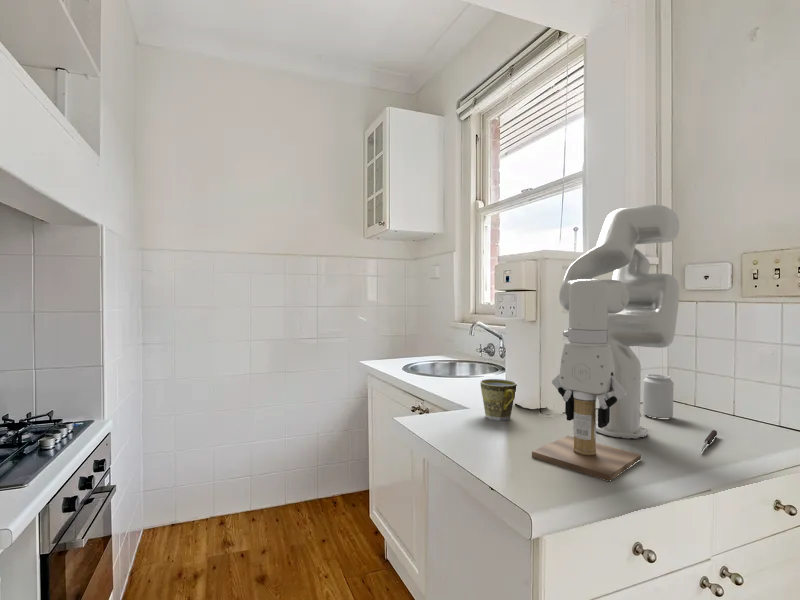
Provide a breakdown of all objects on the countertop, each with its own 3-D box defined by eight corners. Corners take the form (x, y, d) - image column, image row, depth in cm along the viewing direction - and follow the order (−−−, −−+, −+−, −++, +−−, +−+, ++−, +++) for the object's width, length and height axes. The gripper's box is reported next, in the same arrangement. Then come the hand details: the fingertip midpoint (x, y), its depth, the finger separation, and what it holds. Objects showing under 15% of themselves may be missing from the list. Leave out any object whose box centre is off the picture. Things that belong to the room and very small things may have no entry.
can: (679, 420, 119) (679, 378, 119) (652, 420, 119) (652, 377, 119) (662, 413, 127) (663, 373, 127) (637, 413, 127) (638, 373, 127)
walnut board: (567, 440, 101) (567, 435, 101) (641, 460, 89) (641, 454, 89) (531, 456, 91) (531, 451, 91) (609, 481, 79) (609, 475, 79)
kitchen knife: (712, 437, 106) (712, 429, 106) (716, 438, 105) (717, 430, 105) (697, 456, 93) (698, 447, 93) (703, 457, 92) (703, 448, 92)
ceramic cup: (473, 414, 124) (474, 379, 124) (504, 411, 127) (504, 378, 127) (497, 427, 111) (497, 389, 111) (529, 424, 114) (530, 387, 114)
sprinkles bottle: (600, 453, 90) (601, 389, 90) (587, 457, 87) (588, 392, 87) (581, 446, 94) (581, 385, 94) (568, 450, 91) (568, 388, 91)
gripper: (541, 335, 94) (540, 417, 94) (624, 342, 81) (622, 436, 81) (558, 333, 99) (557, 411, 99) (638, 340, 86) (637, 429, 86)
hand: (586, 422), depth 90 cm, fingers open, 6 cm apart
